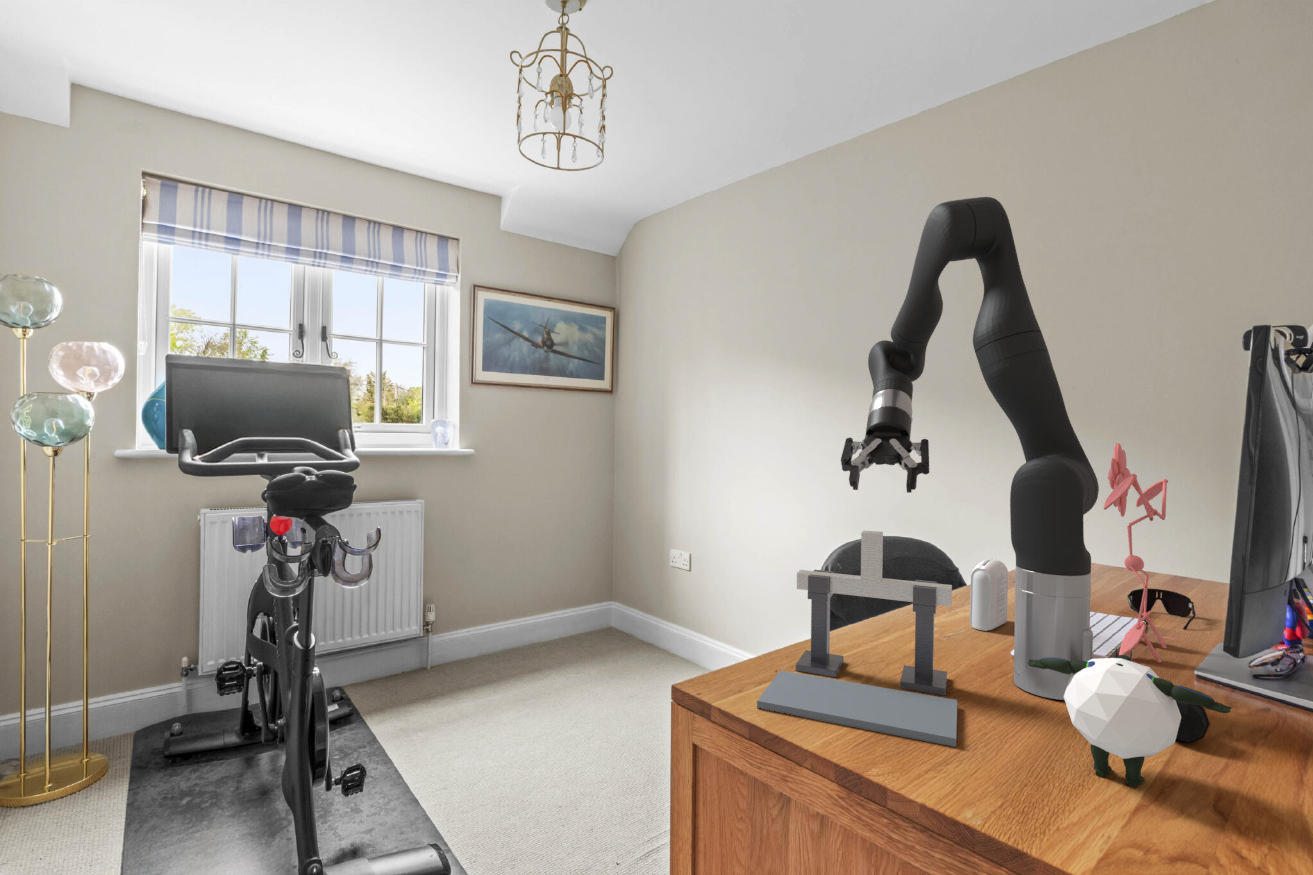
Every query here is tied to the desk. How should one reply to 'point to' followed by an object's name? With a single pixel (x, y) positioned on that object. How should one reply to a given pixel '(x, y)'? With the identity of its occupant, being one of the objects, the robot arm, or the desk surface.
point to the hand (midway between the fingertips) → (881, 488)
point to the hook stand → (830, 664)
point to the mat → (863, 707)
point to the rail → (874, 577)
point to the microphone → (1192, 722)
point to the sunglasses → (1163, 602)
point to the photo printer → (988, 595)
